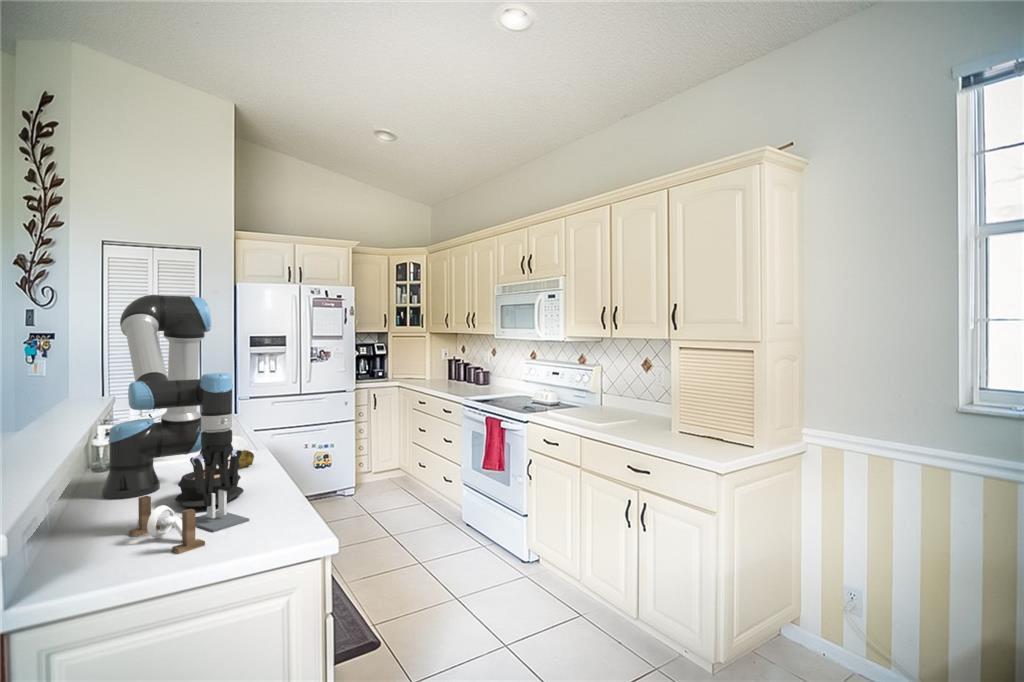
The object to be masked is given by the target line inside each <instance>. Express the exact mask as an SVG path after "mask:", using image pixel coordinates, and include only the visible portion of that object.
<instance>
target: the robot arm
mask: <svg viewBox="0 0 1024 682" xmlns="http://www.w3.org/2000/svg"><path fill="white" fill-rule="evenodd" d="M209 307H210V306H209V304H208V302H207V301H206V299H204V298H202V297H198V296H191V295H164V294H163V295H159V294H147V295H143V296H141V297H138V298H137V299H135V300H133V301H132V302H130V303H129V304H128V305H127V306H126V307H125V308H124V310H123V312H122V314H121V317H120V320H119V322H120V323H119V325H120V329H121V332H122V334H123V335H124V336H125V337H126V340H127V344H128V345H127V346H128V351H129V355H130V360H131V367H132V372H133V376H134V381H133V382H131V383H130V384H128V390H127V391H128V392H127V395H128V396H127V397H128V398H127V399H128V406H129V408H130V409H132V410H134V411H137V410H138V411H140V410H141V411H143V410H145V411H150V410H159V409H161V410H162V409H166V411H165V412H164V413H163V414H162V415H161V419H160V421H157V422H155V421H154V419H153V418H139V419H133V420H129V421H124V422H120V423H118V424H114V425H112V426H111V428H110V429H109V436H108V443H109V446H108V447H109V450H108V451H109V454H108V455H109V456H108V457H109V458H108V459H109V460H108V461H109V462H108V464H109V465H108V468H109V469H108V475H107V477H106V479H105V483H104V485H103V487H102V491H101V493H102V495H101V496H102V498H103V499H105V500H111V501H113V500H114V501H115V500H116V501H117V500H118V501H119V500H128V499H129V500H130V499H134V498H135V499H136V498H139V497H144V496H149V495H152V494H154V493H155V492H157V491H159V490H160V488H161V486H160V485H161V484H160V483H161V482H160V480H159V478H158V475H157V473H156V470H155V467H154V459H157V458H166V457H174V456H180V455H189V454H193V453H198V452H199V454H198V455H196V456H195V457H191V458H190V459H189V461H190V463H191V465H192V468H193V472H194V478H195V486H196V492H197V493H201V494H204V505H205V507H206V514H207V517H209V518H215V512H216V505H215V494H214V493H212V491H213V483H214V474H215V469H216V467H217V465H218V466H219V474H220V482H221V488H222V490H218V505H217V506H218V507H217V509H218V510H217V511H218V514H222V515H226V514H227V512H228V502H230V501H229V490H231V489H232V487H233V486H236V484H237V475H239V470H238V466H239V458H240V456H241V454H242V451H243V450H240V449H235V448H234V447H233V445H232V442H233V430H232V427H233V387H234V384H233V380H232V379H233V378H232V375H231V374H230V373H226V372H225V373H223V372H217V373H205V374H202V375H201V376H200V378H198V376H199V352H200V351H199V350H200V341H202V340H204V338H205V335H206V333H208V332H210V331H211V327H212V317H211V311H210V308H209ZM157 332H163V337H164V338H165V339H166V340H167V341H168V362H167V363H168V364H167V365H168V366H167V369H166V365H165V361H164V356H163V353H162V349H161V344H160V341H159V340H160V339H159V337H158V333H157ZM197 406H198V407H199V406H200V411H198V410H197ZM230 455H231V457H230V464H228V457H229V456H230ZM204 460H205V468H206V470H205V479H204V473H203V470H204V465H203V463H204ZM228 465H229V472H228ZM227 501H228V502H227Z"/></svg>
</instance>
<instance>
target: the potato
mask: <svg viewBox="0 0 1024 682" xmlns="http://www.w3.org/2000/svg"><path fill="white" fill-rule="evenodd" d="M241 451H242V454H241V456H240V458H239V466H238V471H239V470H242V469H244V468H246V467H249V466H252V465H253V462H254V459H255V455H254V453H253V452H252V451H250V450H245V449H243V450H241Z"/></svg>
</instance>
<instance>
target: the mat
mask: <svg viewBox="0 0 1024 682" xmlns="http://www.w3.org/2000/svg"><path fill="white" fill-rule="evenodd" d="M249 521H250V518H249V517H246V516H245V517H244V516H241V515H239V514H234V513H231V512H228V511H227V514H226V515H222V514H218V510H215V518H209V517H207V513H206V514H202V515H199V516H195V528H196V527H197V528H198V529H199V528H200V529H203V530H206V531H209V532H211V533H215V532H218V531H222V530H224V529H227V528H231V527H234V526H237V525H241V524H244V523H246V522H249Z"/></svg>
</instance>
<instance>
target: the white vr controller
mask: <svg viewBox="0 0 1024 682" xmlns="http://www.w3.org/2000/svg"><path fill="white" fill-rule="evenodd" d="M165 511H168V513H169V514H168V515H166V516H165V517H162V519H161V524H162V525H166V528H165V529H164V530H163V531H162V532H159V530H157V529H156V524H157V521H158V519H159V517H160V516H161V514H162V513H163V512H165ZM172 527H174V528H175V530H176V531H177V533H178V534H179V535H180V536H181V538H182V518H181V517H179V516H177V515H175V513H174V510H173V509H172V508H171V507H169V506H167V505H165V504H162V505H159V506H157V507H155V509H154V510H152V511H151V515H150V517H149V519H148V523H147V530H148V533H147V534H149V536H150V537H152V538H159V537H162V536H164V535H166V534H167V533H168V532H169V531H170V530H171V529H172Z"/></svg>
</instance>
